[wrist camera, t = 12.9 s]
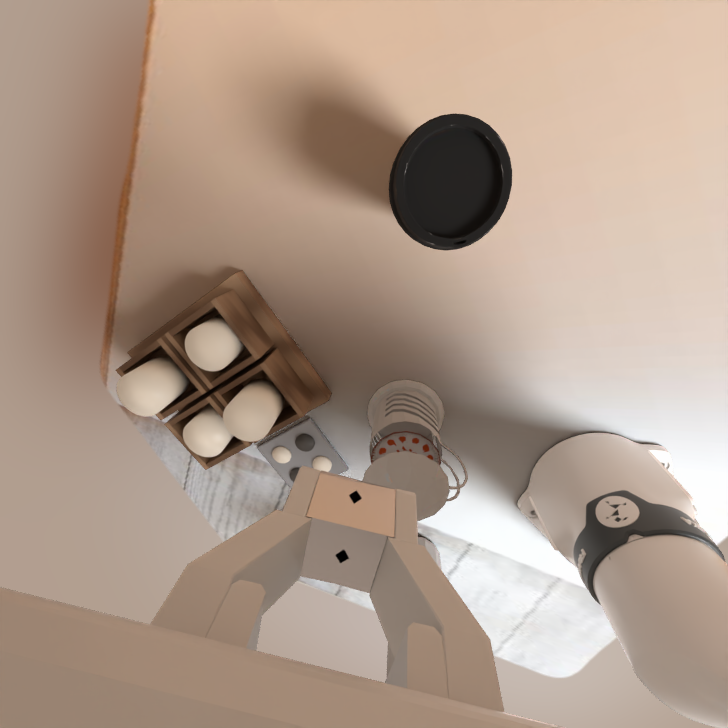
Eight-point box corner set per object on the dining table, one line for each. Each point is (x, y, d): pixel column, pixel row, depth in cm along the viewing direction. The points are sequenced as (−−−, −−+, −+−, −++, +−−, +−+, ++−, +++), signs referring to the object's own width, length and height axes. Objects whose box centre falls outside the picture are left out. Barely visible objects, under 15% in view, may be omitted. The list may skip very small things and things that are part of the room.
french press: (384, 367, 45) (362, 528, 22) (471, 403, 46) (539, 596, 23) (355, 430, 49) (311, 624, 26) (436, 462, 50) (463, 680, 26)
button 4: (250, 423, 47) (233, 446, 43) (221, 439, 49) (202, 463, 44) (225, 392, 46) (205, 412, 41) (196, 410, 47) (174, 431, 43)
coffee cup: (401, 246, 40) (399, 264, 26) (386, 159, 37) (375, 126, 23) (482, 229, 38) (526, 238, 24) (473, 136, 35) (517, 87, 21)
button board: (331, 393, 47) (320, 419, 41) (227, 450, 52) (205, 481, 46) (242, 270, 42) (215, 280, 36) (138, 347, 48) (99, 366, 42)
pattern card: (348, 467, 51) (347, 471, 50) (297, 491, 54) (295, 496, 53) (310, 417, 49) (308, 421, 48) (258, 445, 51) (256, 449, 51)
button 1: (258, 341, 43) (241, 356, 38) (227, 361, 44) (206, 379, 40) (231, 304, 42) (209, 316, 37) (199, 327, 43) (174, 341, 38)
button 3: (293, 405, 43) (280, 428, 38) (260, 424, 44) (243, 448, 39) (266, 370, 41) (249, 390, 37) (233, 391, 43) (213, 412, 38)
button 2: (198, 382, 43) (173, 403, 38) (168, 402, 44) (140, 424, 40) (168, 347, 41) (139, 364, 37) (138, 368, 43) (106, 387, 38)
